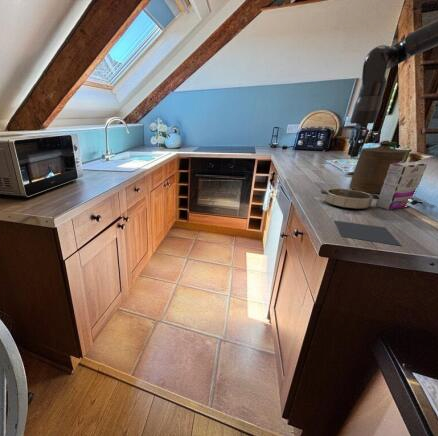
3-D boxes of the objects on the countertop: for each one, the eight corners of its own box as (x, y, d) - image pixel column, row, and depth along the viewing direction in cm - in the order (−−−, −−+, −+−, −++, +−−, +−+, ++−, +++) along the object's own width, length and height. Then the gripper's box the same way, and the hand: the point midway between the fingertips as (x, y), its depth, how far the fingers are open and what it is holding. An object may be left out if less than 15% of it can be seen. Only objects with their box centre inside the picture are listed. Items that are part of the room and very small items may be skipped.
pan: (368, 202, 97) (372, 191, 95) (380, 213, 86) (384, 201, 84) (316, 196, 105) (319, 186, 103) (320, 206, 93) (323, 195, 92)
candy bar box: (394, 203, 96) (411, 161, 89) (410, 207, 91) (429, 163, 85) (373, 206, 93) (389, 163, 87) (388, 210, 89) (406, 165, 82)
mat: (385, 227, 75) (385, 227, 75) (401, 246, 65) (401, 245, 65) (334, 220, 81) (334, 220, 81) (341, 236, 70) (341, 236, 70)
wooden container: (394, 195, 104) (415, 142, 96) (351, 191, 112) (366, 141, 103) (386, 187, 116) (403, 139, 108) (347, 184, 123) (361, 138, 115)
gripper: (385, 109, 84) (369, 159, 90) (373, 109, 95) (359, 154, 102) (358, 109, 87) (344, 158, 93) (349, 110, 99) (337, 153, 105)
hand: (352, 155), depth 98 cm, fingers open, 4 cm apart
